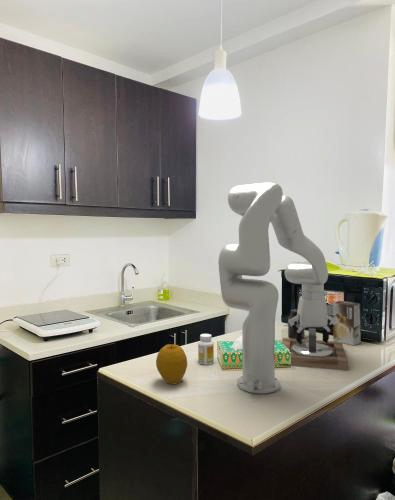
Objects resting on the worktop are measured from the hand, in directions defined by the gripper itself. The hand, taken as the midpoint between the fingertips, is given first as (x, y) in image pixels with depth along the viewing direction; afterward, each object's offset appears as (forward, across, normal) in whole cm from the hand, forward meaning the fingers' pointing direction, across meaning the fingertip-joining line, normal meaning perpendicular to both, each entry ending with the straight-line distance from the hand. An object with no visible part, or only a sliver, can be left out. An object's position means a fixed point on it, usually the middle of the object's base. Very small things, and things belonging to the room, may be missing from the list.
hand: (312, 342), depth 138 cm
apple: (+5, +51, +18) cm, 54 cm away
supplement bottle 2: (+5, -2, -23) cm, 23 cm away
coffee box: (+5, -21, -16) cm, 27 cm away
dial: (+4, 0, 0) cm, 4 cm away
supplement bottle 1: (+5, +39, +2) cm, 39 cm away
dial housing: (+5, 0, 0) cm, 5 cm away
